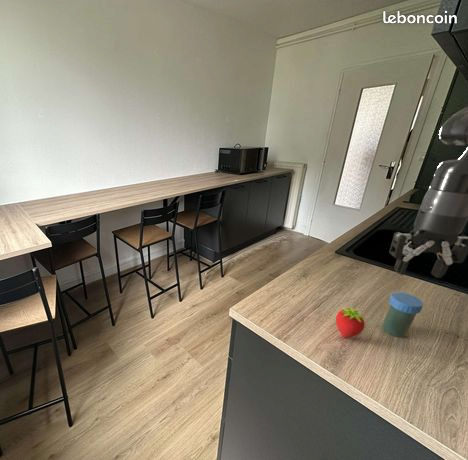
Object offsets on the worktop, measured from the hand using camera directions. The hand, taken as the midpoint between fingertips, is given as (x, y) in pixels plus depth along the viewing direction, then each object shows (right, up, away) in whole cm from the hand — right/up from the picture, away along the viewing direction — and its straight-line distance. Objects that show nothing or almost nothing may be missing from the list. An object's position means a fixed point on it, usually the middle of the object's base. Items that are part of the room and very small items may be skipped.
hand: (417, 274), depth 61 cm
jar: (+1, -16, +7) cm, 18 cm away
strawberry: (-14, -18, +5) cm, 23 cm away
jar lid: (0, -7, +3) cm, 8 cm away
